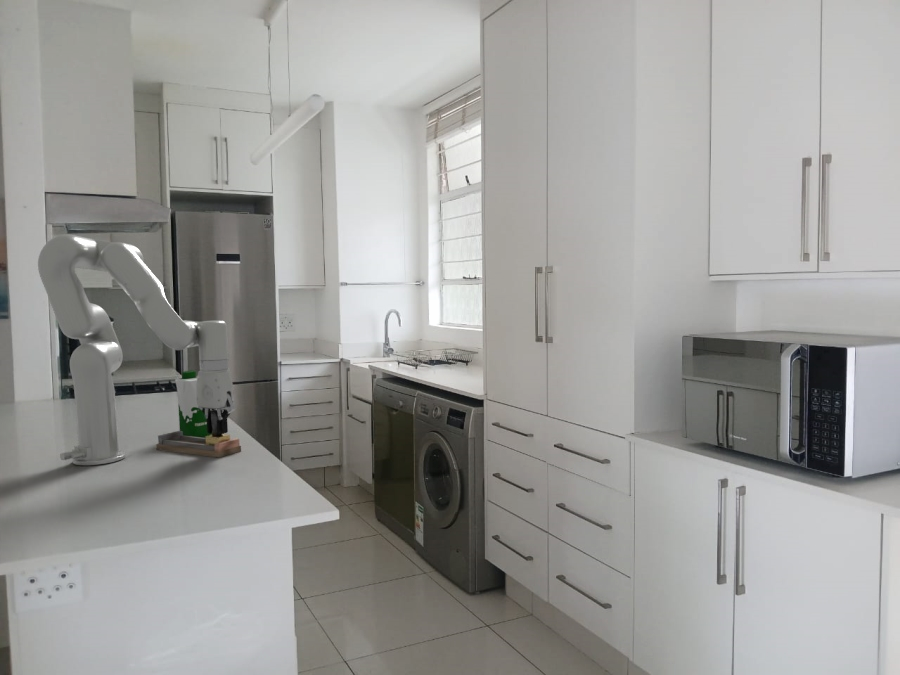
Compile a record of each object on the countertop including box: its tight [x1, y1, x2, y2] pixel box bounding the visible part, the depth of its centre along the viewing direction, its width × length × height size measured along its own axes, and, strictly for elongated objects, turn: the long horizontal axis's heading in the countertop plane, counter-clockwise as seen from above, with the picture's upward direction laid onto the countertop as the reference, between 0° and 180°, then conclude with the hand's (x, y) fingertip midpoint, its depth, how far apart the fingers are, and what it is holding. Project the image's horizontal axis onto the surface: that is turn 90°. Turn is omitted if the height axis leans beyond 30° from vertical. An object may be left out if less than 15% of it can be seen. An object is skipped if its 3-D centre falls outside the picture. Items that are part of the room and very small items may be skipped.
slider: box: [205, 409, 231, 445], centre depth 189 cm, size 4×5×10 cm
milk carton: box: [174, 370, 212, 438], centre depth 212 cm, size 9×9×20 cm
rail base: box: [155, 430, 242, 458], centre depth 194 cm, size 8×25×4 cm, turn 60°
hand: (217, 432), depth 189 cm, fingers closed on slider, 3 cm apart
